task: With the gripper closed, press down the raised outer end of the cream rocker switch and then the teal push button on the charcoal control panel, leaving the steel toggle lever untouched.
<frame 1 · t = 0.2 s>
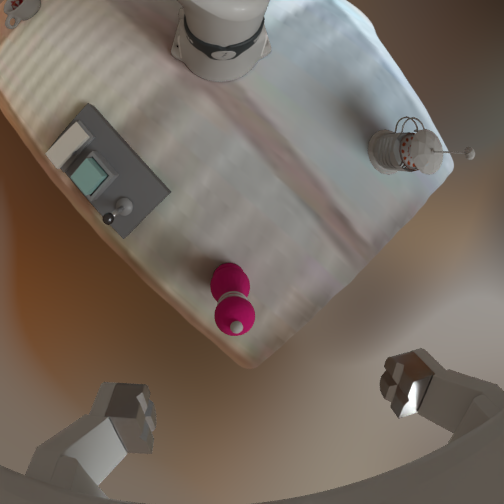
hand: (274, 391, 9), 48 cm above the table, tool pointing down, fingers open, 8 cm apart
french press: (386, 147, 55), on the table
rocker switch: (67, 145, 42), point 5 cm above the table, hinge at -12.0°
pepper mill: (228, 277, 58), on the table
control panel: (108, 169, 49), on the table
push button: (89, 176, 43), point 7 cm above the table, slide at 0.0 cm
toggle lever: (111, 216, 44), point 8 cm above the table, hinge at 20.0°
cup: (29, 15, 34), on the table
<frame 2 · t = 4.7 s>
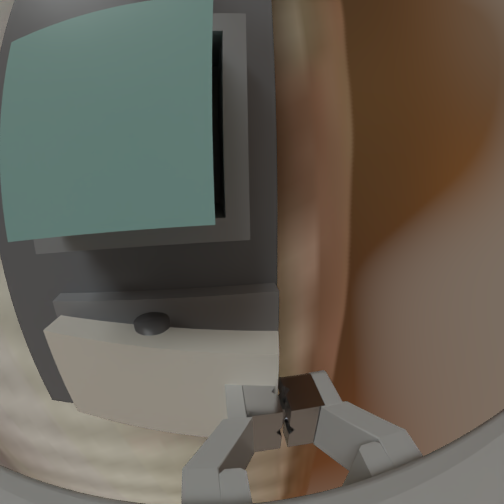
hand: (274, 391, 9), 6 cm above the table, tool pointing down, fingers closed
rocker switch: (160, 378, 9), point 5 cm above the table, hinge at -11.7°, touching gripper
control panel: (128, 146, 12), on the table
push button: (113, 121, 5), point 7 cm above the table, slide at 0.0 cm
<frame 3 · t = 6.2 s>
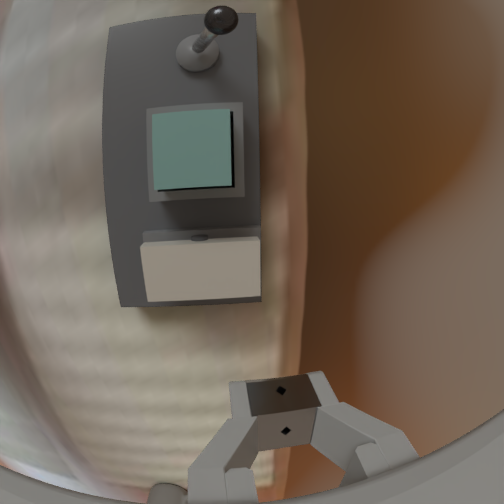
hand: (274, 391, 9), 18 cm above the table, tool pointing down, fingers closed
rocker switch: (201, 268, 20), point 5 cm above the table, hinge at 1.1°
control panel: (182, 155, 23), on the table
push button: (193, 150, 17), point 7 cm above the table, slide at 0.0 cm
toggle lever: (215, 27, 14), point 8 cm above the table, hinge at 20.0°
cup: (176, 487, 37), on the table
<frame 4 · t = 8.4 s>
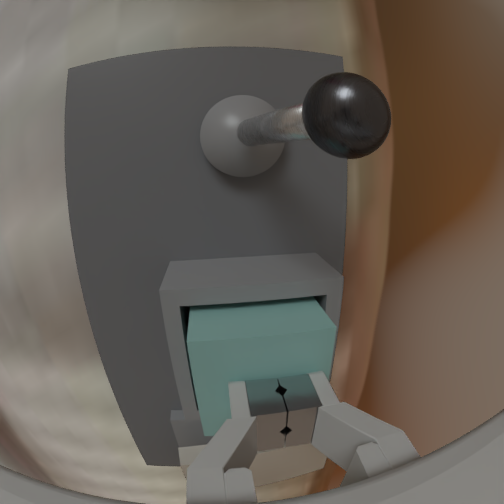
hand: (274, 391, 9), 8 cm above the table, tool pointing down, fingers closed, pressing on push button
rocker switch: (256, 459, 13), point 5 cm above the table, hinge at 6.9°
control panel: (212, 296, 16), on the table
push button: (257, 364, 10), point 6 cm above the table, slide at 0.6 cm, touching gripper
toggle lever: (317, 119, 7), point 8 cm above the table, hinge at 20.0°
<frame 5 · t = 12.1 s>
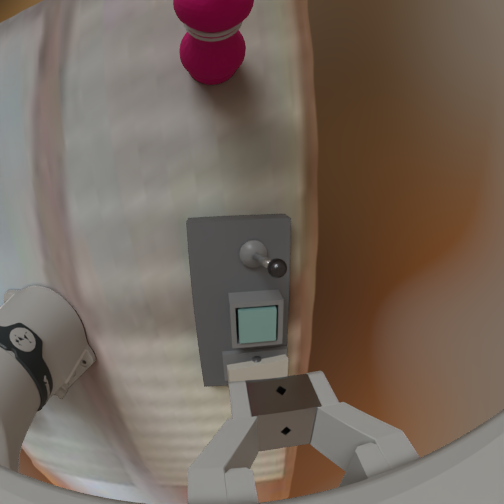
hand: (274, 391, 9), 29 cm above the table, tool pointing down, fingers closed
rocker switch: (257, 372, 37), point 5 cm above the table, hinge at 8.5°
pepper mill: (212, 63, 31), on the table
control panel: (240, 303, 40), on the table
push button: (256, 320, 35), point 5 cm above the table, slide at 1.9 cm
toggle lever: (272, 265, 30), point 8 cm above the table, hinge at 20.0°
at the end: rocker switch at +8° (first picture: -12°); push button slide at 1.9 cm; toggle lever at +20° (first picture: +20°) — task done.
